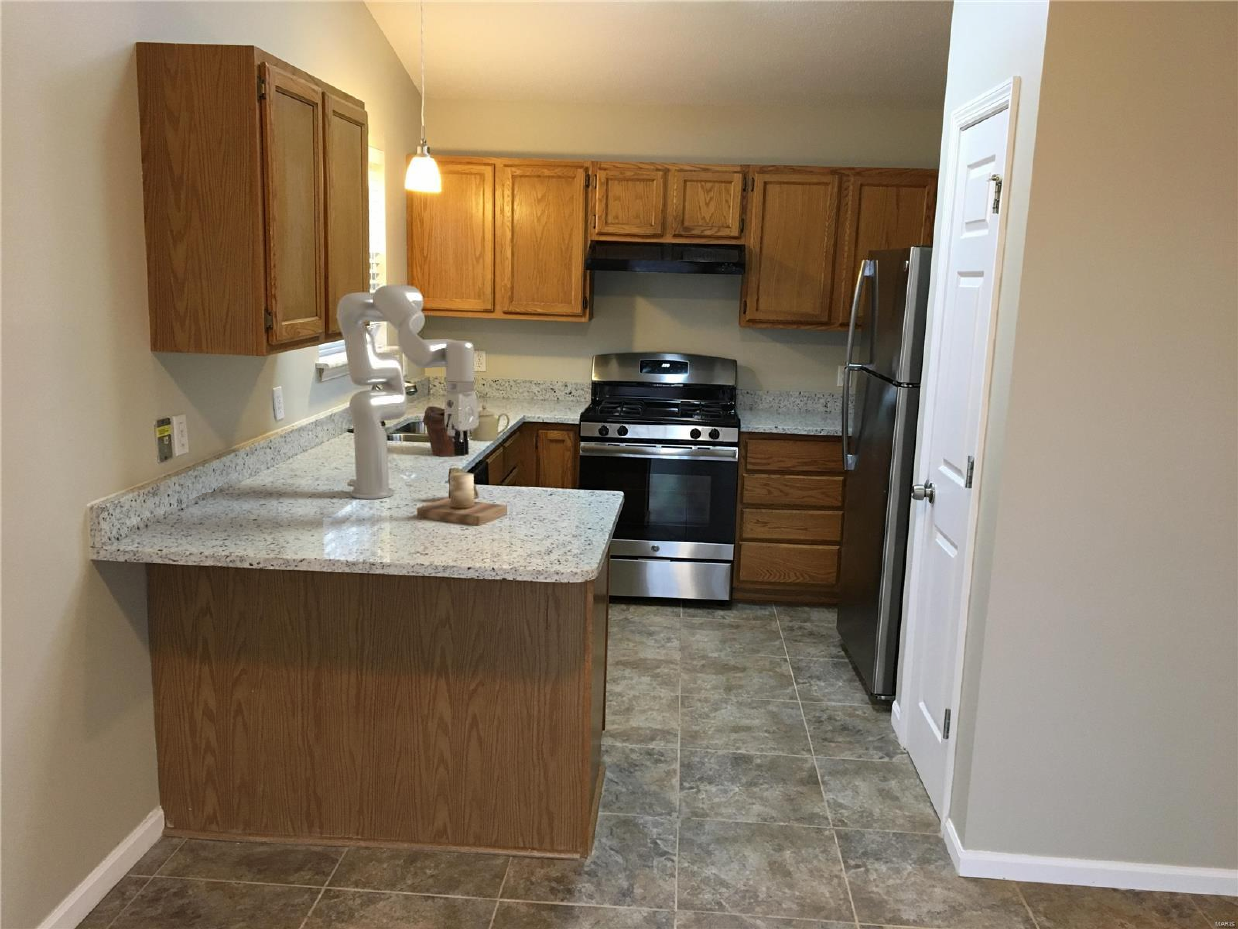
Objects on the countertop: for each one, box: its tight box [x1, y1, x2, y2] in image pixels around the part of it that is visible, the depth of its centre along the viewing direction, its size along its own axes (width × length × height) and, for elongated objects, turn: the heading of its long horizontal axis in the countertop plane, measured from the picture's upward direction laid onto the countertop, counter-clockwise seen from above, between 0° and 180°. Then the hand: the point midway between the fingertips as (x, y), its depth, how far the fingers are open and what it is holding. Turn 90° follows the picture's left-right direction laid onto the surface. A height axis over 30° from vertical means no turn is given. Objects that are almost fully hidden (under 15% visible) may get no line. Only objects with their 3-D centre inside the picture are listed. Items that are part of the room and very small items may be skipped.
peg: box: [450, 472, 475, 510], centre depth 256 cm, size 6×6×12 cm
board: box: [416, 497, 508, 526], centre depth 257 cm, size 20×14×3 cm
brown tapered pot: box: [422, 405, 470, 457], centre depth 353 cm, size 18×20×18 cm
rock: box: [447, 467, 480, 499], centre depth 276 cm, size 11×9×10 cm
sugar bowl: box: [471, 403, 511, 442], centre depth 391 cm, size 15×11×15 cm
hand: (461, 454), depth 254 cm, fingers closed
